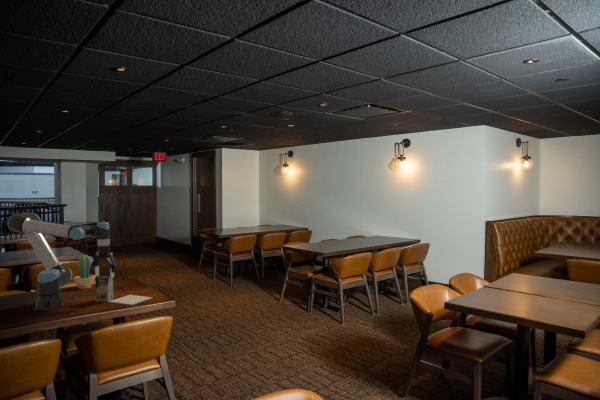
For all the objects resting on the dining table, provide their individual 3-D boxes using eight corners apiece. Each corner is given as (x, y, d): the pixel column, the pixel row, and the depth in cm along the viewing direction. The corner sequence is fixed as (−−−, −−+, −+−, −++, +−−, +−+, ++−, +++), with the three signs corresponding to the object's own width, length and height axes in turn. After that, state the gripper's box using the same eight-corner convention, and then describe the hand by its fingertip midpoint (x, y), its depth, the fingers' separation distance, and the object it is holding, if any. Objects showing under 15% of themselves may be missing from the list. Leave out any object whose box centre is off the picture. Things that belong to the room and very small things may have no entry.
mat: (108, 302, 264) (108, 301, 264) (129, 295, 281) (129, 294, 281) (132, 305, 257) (132, 304, 257) (152, 298, 274) (152, 297, 274)
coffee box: (95, 301, 266) (94, 277, 265) (101, 299, 272) (100, 275, 272) (108, 302, 265) (107, 278, 264) (113, 299, 271) (113, 275, 271)
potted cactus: (80, 290, 296) (79, 257, 296) (69, 288, 304) (68, 255, 304) (100, 286, 309) (99, 254, 309) (88, 284, 318) (88, 252, 317)
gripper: (122, 245, 267) (123, 276, 267) (94, 243, 276) (95, 274, 276) (113, 246, 260) (114, 279, 260) (85, 245, 269) (86, 276, 269)
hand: (104, 276), depth 268 cm, fingers open, 13 cm apart
